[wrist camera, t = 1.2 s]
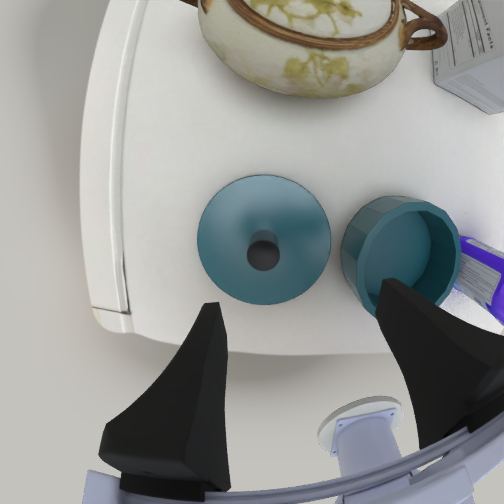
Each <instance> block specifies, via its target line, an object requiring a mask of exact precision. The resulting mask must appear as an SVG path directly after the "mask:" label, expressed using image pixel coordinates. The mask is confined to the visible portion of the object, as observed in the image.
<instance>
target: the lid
mask: <svg viewBox="0 0 504 504" xmlns="http://www.w3.org/2000/svg"><path fill="white" fill-rule="evenodd" d="M197 245H198V252H199V256H200V260H201V262H202V265H203V267H204V269H205V271H206V273H207V274H208V276H209V277H210V278H211V280H212V281H213V282H214V283H215V284H216V285H217V286H218V287H219V288H220V289H221V290H222V291H224V292H225V293H227V294H228V295H230V296H232V297H234V298H236V299H238V300H240V301H243V302H247V303H251V304H258V305H271V304H278V303H282V302H286V301H288V300H291V299H293V298H295V297H297V296H299V295H301V294H302V293H303V292H305V291H306V290H307V289H309V288H310V287H311V286H312V285H313V284H314V283H315V281H316V280H317V279H318V278H319V276H320V275H321V273H322V272H323V270H324V268H325V266H326V263H327V260H328V257H329V253H330V247H331V234H330V227H329V223H328V220H327V217H326V215H325V212H324V210H323V209H322V207H321V205H320V204H319V202H318V201H317V200H316V199H315V197H314V196H313V195H312V194H311V193H310V192H309V191H307V190H306V189H305V188H303V187H302V186H301V185H299V184H297V183H295V182H293V181H291V180H288V179H286V178H282V177H278V176H273V175H255V176H249V177H245V178H242V179H239V180H237V181H235V182H232V183H230V184H229V185H227V186H226V187H224V188H223V189H222V190H221V191H219V192H218V193H217V194H216V195H215V196H214V197H213V198H212V200H211V201H210V202H209V204H208V205H207V207H206V208H205V210H204V212H203V214H202V217H201V220H200V223H199V227H198V234H197Z"/></svg>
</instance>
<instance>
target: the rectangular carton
mask: <svg viewBox="0 0 504 504" xmlns="http://www.w3.org/2000/svg"><path fill="white" fill-rule="evenodd" d="M438 18H439V19H440V20H441V21H442V23H443V24H444V26H445V28H446V30H447V33H448V40H447V42H446V44H445V45H444V46H443V47H441V48H438V49H434V50H433V63H434V82H435V84H436V85H438V86H440V87H442V88H444V89H446V90H448V91H450V92H452V93H454V94H456V95H457V96H459V97H461V98H463V99H465V100H466V101H468V102H470V103H471V104H473V105H475V106H476V107H478V108H480V109H481V110H483V111H484V112H486V113H488V114H495V113H502V112H504V0H458V1H457V2H456V3H455V4H453V5H452V6H451V7H449V8H448V9H447V10H446V11H444V12H443V13H442V14H441V15H439V16H438ZM430 32H431V35H433V34H435V32H434V31H433V30H430Z"/></svg>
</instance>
